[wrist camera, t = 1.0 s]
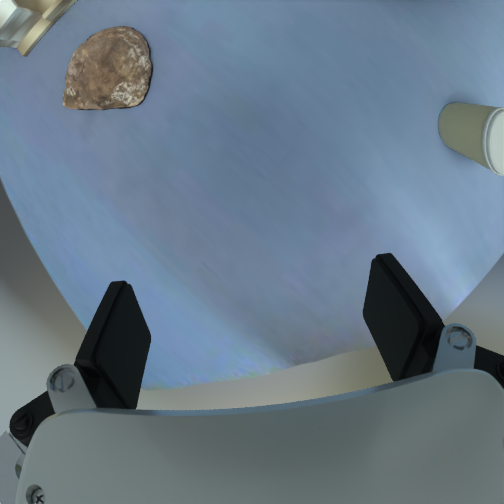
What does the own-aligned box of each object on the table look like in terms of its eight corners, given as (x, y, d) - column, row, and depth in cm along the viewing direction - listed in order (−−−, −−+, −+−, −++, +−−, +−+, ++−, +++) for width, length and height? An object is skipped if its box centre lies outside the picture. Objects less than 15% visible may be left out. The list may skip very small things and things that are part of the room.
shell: (76, 31, 25) (64, 27, 22) (163, 28, 27) (156, 21, 24) (63, 109, 31) (50, 112, 27) (146, 112, 33) (138, 113, 29)
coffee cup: (452, 165, 38) (502, 191, 28) (424, 122, 35) (479, 138, 24) (480, 130, 35) (531, 148, 24) (455, 86, 31) (510, 94, 21)
